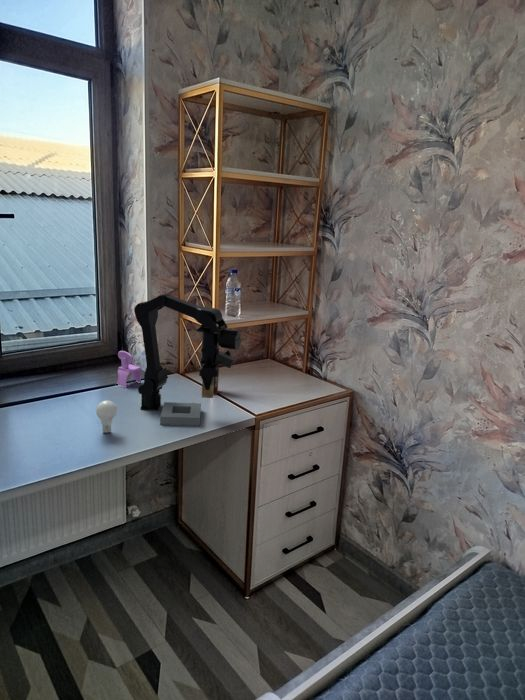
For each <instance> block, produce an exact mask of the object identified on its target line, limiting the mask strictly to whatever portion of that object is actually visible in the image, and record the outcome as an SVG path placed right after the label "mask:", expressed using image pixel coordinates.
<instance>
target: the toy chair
mask: <svg viewBox="0 0 525 700" xmlns="http://www.w3.org/2000/svg"><path fill="white" fill-rule="evenodd" d="M117 356H118V358H119V360H120V362H121V366H118V367H117V368H118V369H117V377H118V378H117V382H116V383H115V385H116V384H118V385H121V386H123V387H127V381H128V377H129V375H130V374H131V373H132V375H131V377H130V380H131V379H132V380H136V381H138V382H140V383H141V384H142V380H141V378H142V377H141V375H142V367H140V366H137V365H134V364H132V363H133V362H134V357H133V355H132V354H131V353H129V352H127V351H125V350H120V351H118V353H117ZM127 388H128V387H127Z"/></svg>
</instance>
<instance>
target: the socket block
mask: <svg viewBox="0 0 525 700" xmlns="http://www.w3.org/2000/svg"><path fill="white" fill-rule="evenodd" d="M201 412H202V402H201V403H198V402H172V401H171V402H170V401H169V402H168V401H166V402H165V401H164V402H163V406H162V409H161V413H160V416H159V417H160V418H159V425H160V426H192V427H195V426H196V427H197V426H198V427H199V426H200V422H201Z"/></svg>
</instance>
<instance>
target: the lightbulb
mask: <svg viewBox="0 0 525 700" xmlns="http://www.w3.org/2000/svg"><path fill="white" fill-rule="evenodd" d="M117 410H118V409H117V405H116V403H114V402H113V401H111V400H107V399H106V400H102V401H100V402H99V403H98V404H97V406H96V408H95V412H96V416H97V417H98V419H99V420H100V422H101V425H102V426H101V427H102V433H104V434H108V433H111V432H112V423H113V419H114V418H115V416H116V415H117Z"/></svg>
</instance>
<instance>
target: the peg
mask: <svg viewBox="0 0 525 700" xmlns="http://www.w3.org/2000/svg"><path fill="white" fill-rule="evenodd" d="M201 380H202V379H201ZM201 385H202V386H201V398H203V399H204V398H205V399H214V395H213V390H214V377H213V378H212V382H211V385H210V389H209V390H206V388H205V386H204V383H203V380H202V383H201Z"/></svg>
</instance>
